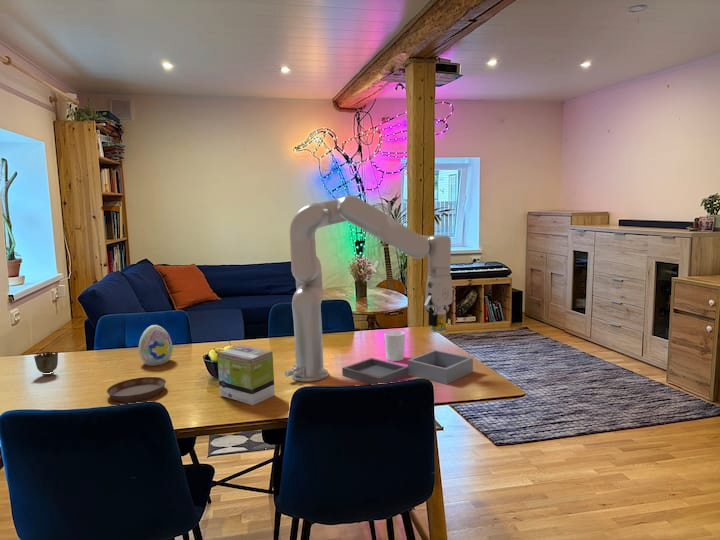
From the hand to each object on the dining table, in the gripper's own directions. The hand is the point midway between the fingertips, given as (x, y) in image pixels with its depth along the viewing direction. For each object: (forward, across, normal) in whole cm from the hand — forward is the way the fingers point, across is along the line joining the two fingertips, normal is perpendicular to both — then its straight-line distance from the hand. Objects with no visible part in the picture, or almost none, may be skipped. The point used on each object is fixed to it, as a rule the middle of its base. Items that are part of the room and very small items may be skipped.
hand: (438, 323), depth 174 cm
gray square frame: (+17, +1, -1) cm, 18 cm away
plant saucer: (+21, -77, +63) cm, 102 cm away
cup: (+21, -91, +108) cm, 143 cm away
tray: (+18, -15, +15) cm, 28 cm away
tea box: (+19, -55, +33) cm, 67 cm away
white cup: (+18, +4, +22) cm, 29 cm away
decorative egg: (+20, -58, +91) cm, 110 cm away
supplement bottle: (+3, 0, 0) cm, 3 cm away
